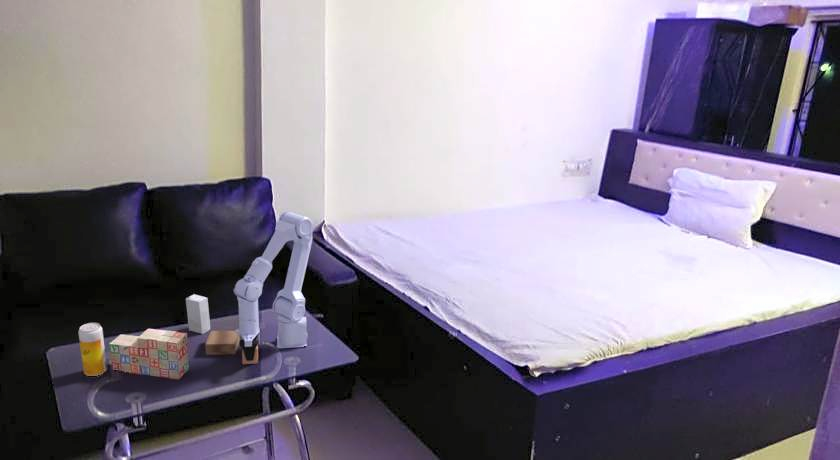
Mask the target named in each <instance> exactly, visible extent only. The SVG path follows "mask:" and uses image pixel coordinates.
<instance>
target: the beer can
mask: <svg viewBox="0 0 840 460" xmlns="http://www.w3.org/2000/svg"><path fill="white" fill-rule="evenodd" d="M78 339H79V347H80V354H81V361H82V368H83V374H84V375H86V376H87V377H88V376H97V377H99V376H98V375H100V376H102V375H104V374H105V373H106V371H107V370H108V365H107V358H106V357H107V356H106V348H105V341H104V331H103V327H102V326H101V324H100V323H98V322H88V323H84V324H83V325H81V326H80V327H79V329H78ZM104 372H105V373H104ZM103 373H104V374H103ZM101 374H102V375H101Z"/></svg>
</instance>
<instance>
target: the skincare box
mask: <svg viewBox="0 0 840 460" xmlns="http://www.w3.org/2000/svg"><path fill="white" fill-rule="evenodd" d="M208 299H209V298H208V297H205V296H202V295H200V294H199V295H198V294H195V293H193V294H192V295H190V296H188V297H186V298H185V305H186V312H187V313H186V314H187V323H188V331H191V332H193V333H198V334H201V335H204V334H206V333H207V332H209V331H210V330H211V320H210V312H209V311H210V308H209V302H208V301H209V300H208Z"/></svg>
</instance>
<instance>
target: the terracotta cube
mask: <svg viewBox="0 0 840 460" xmlns="http://www.w3.org/2000/svg"><path fill="white" fill-rule="evenodd" d="M241 353H242V354H241V357H242V365H250V364H258V363H259V344H258V345H257V347H256V349H255V355H254V360H253V361H246V358H245V354H244V351H243V349H242V348H241Z"/></svg>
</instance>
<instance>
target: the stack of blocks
mask: <svg viewBox="0 0 840 460" xmlns="http://www.w3.org/2000/svg"><path fill="white" fill-rule="evenodd" d="M108 348H109V353H110V361H111V370H112V369H118V370H121V371H125V372H124V373H126V372H129V374H134V373H135V374H134V375H143V376H152V377H160V378H166V379H173V380H180V379H181V378H182V377H183V376H184V375H185V374H186V373H187V372H188V371H189V369H190V361H189V343H188V333H187V332H179V331H175V330H166V329H154V328H147V329H146V330H145V331H144V332H142V333H141V334H140V335H139V336H138V335H131V334H124V333H123V334H121V333H120V334H119V335H118V336H117V337H115V339H113V340H112V341H110V342H109V343H108ZM121 371H120V372H121Z"/></svg>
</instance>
